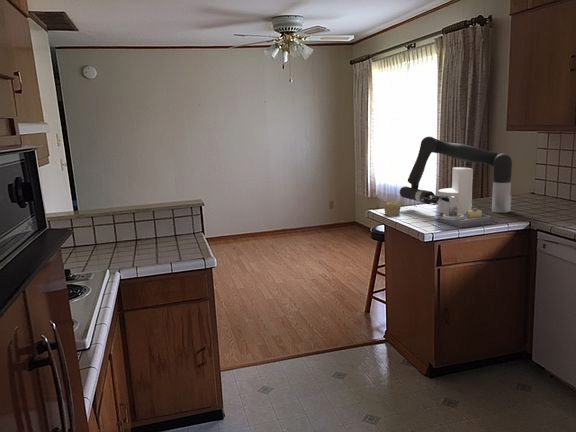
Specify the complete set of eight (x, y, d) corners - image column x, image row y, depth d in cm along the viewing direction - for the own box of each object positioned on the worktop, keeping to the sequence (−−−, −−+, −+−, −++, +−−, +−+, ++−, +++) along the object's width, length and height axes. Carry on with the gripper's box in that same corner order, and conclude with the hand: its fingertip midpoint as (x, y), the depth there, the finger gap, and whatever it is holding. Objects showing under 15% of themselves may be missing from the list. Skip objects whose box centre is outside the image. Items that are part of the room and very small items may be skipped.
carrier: (467, 216, 263) (468, 203, 261) (491, 222, 246) (492, 208, 244) (437, 220, 256) (438, 207, 255) (460, 227, 239) (460, 212, 238)
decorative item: (394, 222, 274) (405, 208, 272) (380, 212, 275) (391, 198, 272) (393, 219, 283) (404, 206, 281) (380, 209, 284) (390, 196, 281)
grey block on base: (453, 216, 257) (454, 195, 254) (462, 218, 250) (463, 197, 248) (443, 217, 254) (444, 196, 252) (451, 219, 248) (452, 198, 246)
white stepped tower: (469, 208, 285) (470, 167, 280) (473, 214, 268) (475, 170, 263) (436, 208, 290) (437, 167, 285) (439, 214, 272) (440, 171, 267)
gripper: (414, 191, 270) (432, 195, 255) (435, 189, 275) (453, 193, 260) (414, 204, 272) (432, 208, 257) (434, 201, 277) (453, 206, 262)
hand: (443, 200), depth 259 cm, fingers open, 8 cm apart
